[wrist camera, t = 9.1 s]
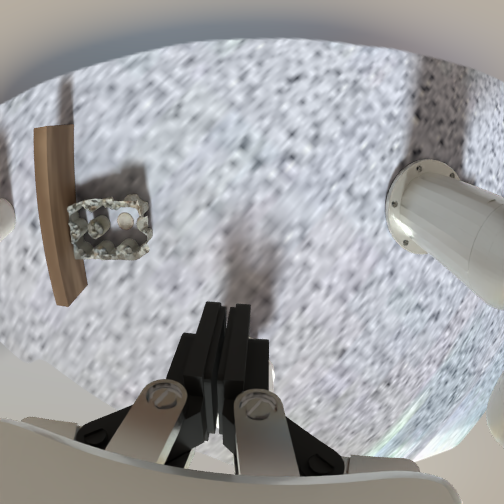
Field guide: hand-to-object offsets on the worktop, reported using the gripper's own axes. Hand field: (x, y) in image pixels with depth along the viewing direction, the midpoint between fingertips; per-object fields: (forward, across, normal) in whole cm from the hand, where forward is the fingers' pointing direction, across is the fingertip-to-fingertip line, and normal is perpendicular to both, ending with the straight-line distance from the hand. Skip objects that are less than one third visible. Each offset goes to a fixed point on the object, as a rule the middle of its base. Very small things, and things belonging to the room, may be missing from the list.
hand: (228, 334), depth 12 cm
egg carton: (+25, +17, +4) cm, 30 cm away
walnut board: (+24, +24, +2) cm, 34 cm away
